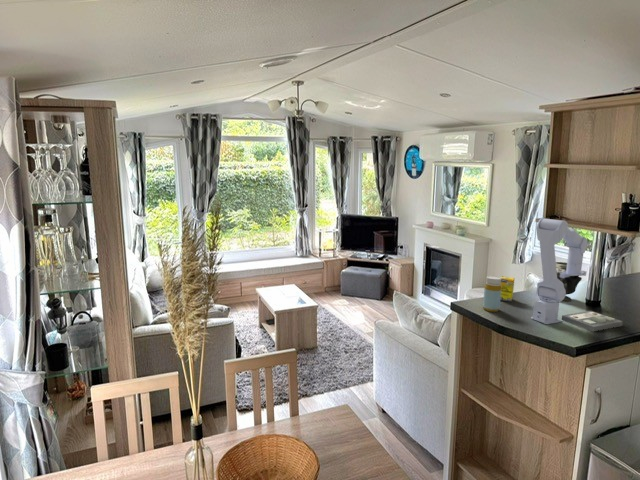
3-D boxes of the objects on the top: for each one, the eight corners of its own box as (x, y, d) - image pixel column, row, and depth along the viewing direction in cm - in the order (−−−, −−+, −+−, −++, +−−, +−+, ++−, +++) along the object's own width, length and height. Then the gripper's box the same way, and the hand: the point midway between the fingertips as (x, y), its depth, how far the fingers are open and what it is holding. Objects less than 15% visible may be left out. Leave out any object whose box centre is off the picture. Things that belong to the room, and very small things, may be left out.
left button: (589, 329, 178) (590, 323, 178) (581, 326, 181) (582, 320, 181) (595, 328, 180) (596, 322, 179) (587, 325, 183) (588, 319, 182)
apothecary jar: (570, 296, 223) (574, 261, 220) (577, 303, 212) (582, 267, 209) (544, 294, 226) (548, 259, 223) (549, 301, 215) (554, 265, 211)
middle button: (599, 324, 180) (600, 319, 180) (591, 321, 184) (592, 316, 183) (605, 323, 182) (606, 318, 181) (597, 320, 185) (598, 315, 185)
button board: (592, 331, 176) (593, 326, 175) (561, 319, 188) (562, 314, 188) (622, 325, 183) (622, 320, 182) (590, 315, 195) (590, 310, 195)
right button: (609, 325, 183) (609, 319, 183) (600, 322, 186) (601, 317, 186) (614, 324, 184) (615, 318, 184) (606, 321, 188) (607, 316, 187)
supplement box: (498, 300, 214) (500, 278, 212) (499, 297, 219) (501, 275, 217) (511, 302, 211) (513, 280, 209) (512, 299, 216) (514, 277, 214)
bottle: (479, 308, 201) (482, 276, 199) (490, 306, 204) (493, 275, 202) (491, 313, 195) (494, 280, 193) (502, 310, 198) (505, 278, 196)
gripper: (571, 265, 188) (567, 296, 190) (594, 263, 194) (590, 293, 196) (556, 262, 194) (553, 291, 197) (579, 259, 200) (575, 288, 202)
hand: (570, 292), depth 197 cm, fingers closed
